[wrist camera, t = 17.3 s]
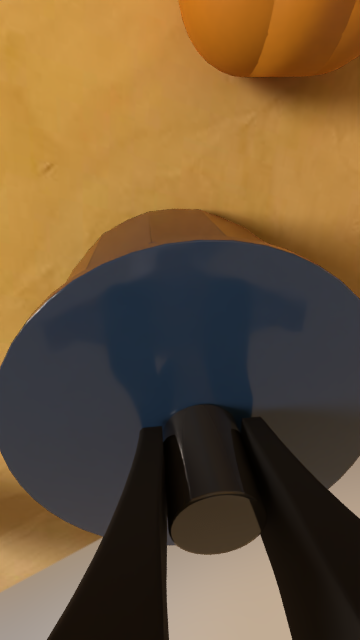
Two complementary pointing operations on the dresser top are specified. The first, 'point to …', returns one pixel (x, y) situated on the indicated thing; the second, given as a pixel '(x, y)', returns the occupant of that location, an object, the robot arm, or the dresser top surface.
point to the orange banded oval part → (274, 35)
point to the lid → (182, 382)
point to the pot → (159, 232)
